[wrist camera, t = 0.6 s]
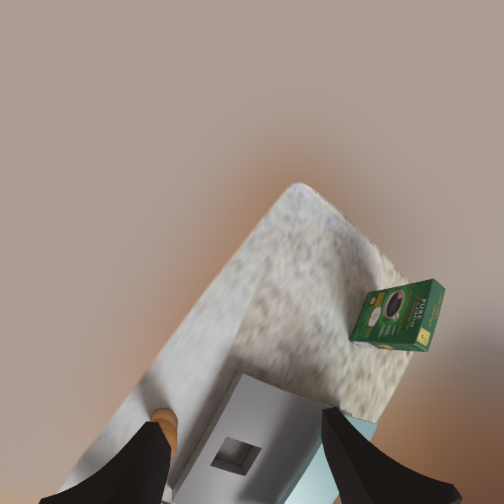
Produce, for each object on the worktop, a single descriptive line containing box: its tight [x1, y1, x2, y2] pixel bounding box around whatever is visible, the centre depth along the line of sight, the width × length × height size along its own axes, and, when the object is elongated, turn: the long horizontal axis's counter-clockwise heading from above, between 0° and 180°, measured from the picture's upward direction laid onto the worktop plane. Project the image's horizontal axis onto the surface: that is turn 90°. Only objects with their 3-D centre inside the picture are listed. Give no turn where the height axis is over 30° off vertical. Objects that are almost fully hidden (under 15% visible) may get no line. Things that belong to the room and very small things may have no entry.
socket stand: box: [172, 370, 378, 504], centre depth 25 cm, size 20×16×8 cm
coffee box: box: [350, 279, 445, 352], centre depth 31 cm, size 8×3×13 cm, turn 151°
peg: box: [150, 408, 178, 458], centre depth 24 cm, size 3×3×8 cm
